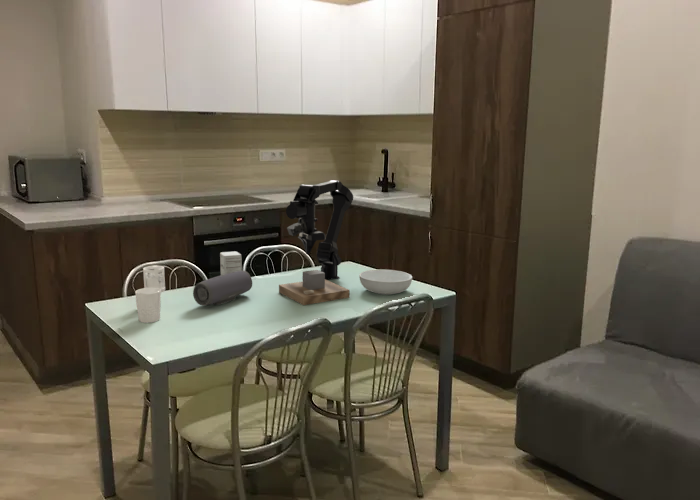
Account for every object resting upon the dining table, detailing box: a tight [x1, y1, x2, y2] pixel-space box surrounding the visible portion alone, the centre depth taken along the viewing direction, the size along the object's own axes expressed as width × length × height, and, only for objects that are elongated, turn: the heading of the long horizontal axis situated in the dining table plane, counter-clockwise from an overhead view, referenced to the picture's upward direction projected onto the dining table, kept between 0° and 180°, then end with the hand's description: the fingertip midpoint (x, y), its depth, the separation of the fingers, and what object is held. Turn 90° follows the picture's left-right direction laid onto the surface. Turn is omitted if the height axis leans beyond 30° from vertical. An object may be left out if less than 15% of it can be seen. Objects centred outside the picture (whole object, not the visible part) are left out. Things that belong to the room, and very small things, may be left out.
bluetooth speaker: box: [192, 270, 253, 307], centre depth 217 cm, size 23×9×10 cm, turn 149°
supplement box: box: [219, 250, 243, 275], centre depth 242 cm, size 7×7×13 cm
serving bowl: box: [359, 268, 413, 296], centre depth 233 cm, size 21×21×7 cm
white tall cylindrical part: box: [142, 264, 166, 293], centre depth 210 cm, size 7×7×15 cm
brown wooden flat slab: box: [278, 279, 351, 306], centre depth 228 cm, size 20×20×4 cm
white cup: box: [134, 287, 162, 324], centre depth 195 cm, size 8×8×10 cm
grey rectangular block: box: [302, 269, 326, 290], centre depth 227 cm, size 6×6×8 cm
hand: (307, 254), depth 239 cm, fingers closed
